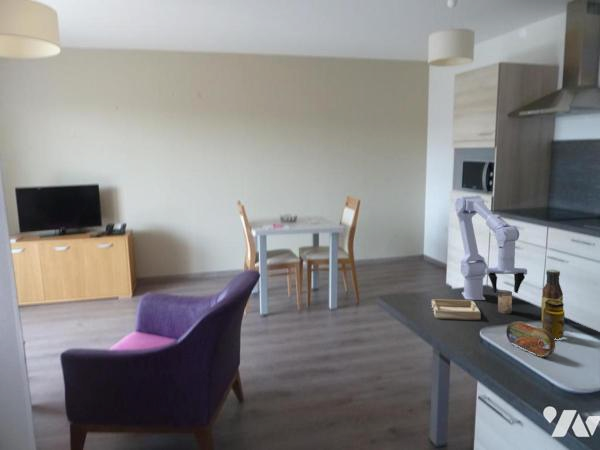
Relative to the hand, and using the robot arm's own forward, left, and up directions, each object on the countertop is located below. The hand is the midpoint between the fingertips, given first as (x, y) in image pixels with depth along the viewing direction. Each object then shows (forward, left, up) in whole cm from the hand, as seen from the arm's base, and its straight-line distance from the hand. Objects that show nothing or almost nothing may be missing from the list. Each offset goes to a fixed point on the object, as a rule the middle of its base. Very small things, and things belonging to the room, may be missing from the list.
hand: (505, 292), depth 164 cm
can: (0, 0, -8) cm, 8 cm away
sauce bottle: (+13, +12, -8) cm, 19 cm away
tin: (+35, -2, -8) cm, 36 cm away
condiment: (+23, +8, -8) cm, 26 cm away
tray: (+3, -19, -8) cm, 21 cm away
